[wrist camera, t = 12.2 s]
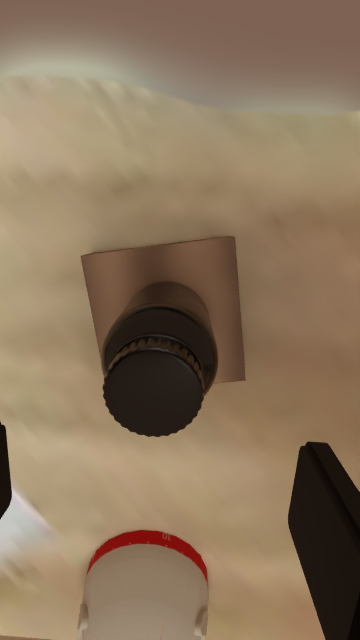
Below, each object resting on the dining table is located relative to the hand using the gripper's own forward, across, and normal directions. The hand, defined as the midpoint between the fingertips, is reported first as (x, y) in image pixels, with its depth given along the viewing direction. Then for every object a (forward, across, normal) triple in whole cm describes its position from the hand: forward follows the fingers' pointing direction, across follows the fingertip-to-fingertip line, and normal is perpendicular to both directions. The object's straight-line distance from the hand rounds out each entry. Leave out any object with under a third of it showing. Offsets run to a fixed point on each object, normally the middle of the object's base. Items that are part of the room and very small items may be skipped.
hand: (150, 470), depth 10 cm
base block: (+20, +1, 0) cm, 20 cm away
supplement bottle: (+17, +1, 0) cm, 17 cm away
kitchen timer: (+20, +2, +32) cm, 38 cm away
